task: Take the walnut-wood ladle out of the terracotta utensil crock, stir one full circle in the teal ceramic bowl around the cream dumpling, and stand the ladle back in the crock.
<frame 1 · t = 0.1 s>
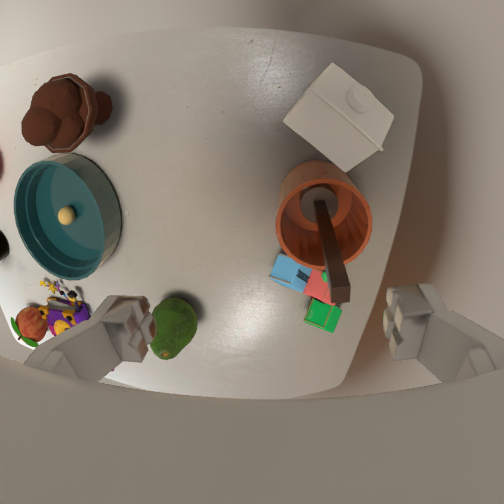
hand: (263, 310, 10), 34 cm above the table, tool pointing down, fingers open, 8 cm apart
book: (79, 324, 61), on the table
ladle: (317, 198, 42), point 1 cm above the table, touching crock
crock: (317, 197, 43), on the table
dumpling: (66, 215, 46), point 2 cm above the table, touching bowl
ice cream bowl: (98, 108, 40), on the table
building blocks: (307, 282, 49), on the table
fruit: (40, 314, 63), on the table
avocado: (182, 305, 54), on the table
milk carton: (322, 113, 37), on the table
bowl: (73, 211, 48), on the table
battery: (1, 242, 54), on the table
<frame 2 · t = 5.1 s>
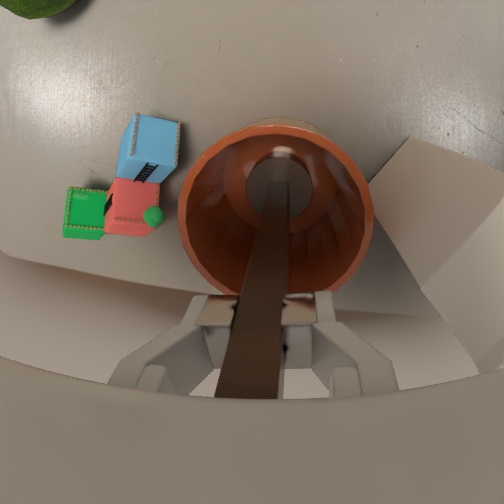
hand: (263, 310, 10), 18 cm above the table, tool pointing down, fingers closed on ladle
ladle: (280, 180, 25), point 1 cm above the table, touching crock, gripper
crock: (280, 178, 26), on the table
building blocks: (130, 174, 28), on the table
milk carton: (409, 189, 25), on the table
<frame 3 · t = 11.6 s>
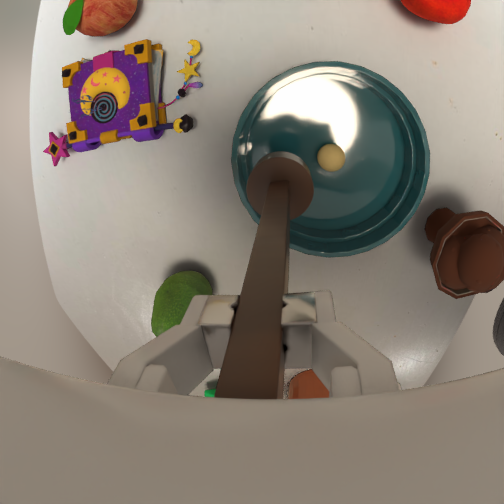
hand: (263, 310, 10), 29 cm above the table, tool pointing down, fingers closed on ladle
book: (117, 99, 35), on the table
apple: (417, 0, 24), on the table
ladle: (281, 180, 25), point 12 cm above the table, touching gripper
crock: (316, 386, 53), on the table
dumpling: (331, 157, 33), point 2 cm above the table, touching bowl
ice cream bowl: (441, 225, 37), on the table
fruit: (120, 11, 29), on the table
avocado: (194, 282, 46), on the table
bowl: (328, 154, 35), on the table
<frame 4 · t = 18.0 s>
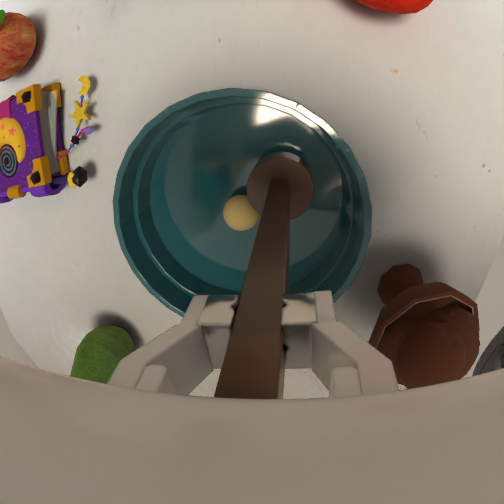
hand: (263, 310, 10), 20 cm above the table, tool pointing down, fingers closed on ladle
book: (27, 145, 29), on the table
ladle: (281, 180, 25), point 3 cm above the table, touching gripper
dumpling: (241, 212, 27), point 2 cm above the table, touching bowl
ice cream bowl: (400, 284, 31), on the table
fruit: (27, 46, 23), on the table
avocado: (121, 334, 40), on the table
bowl: (244, 204, 29), on the table
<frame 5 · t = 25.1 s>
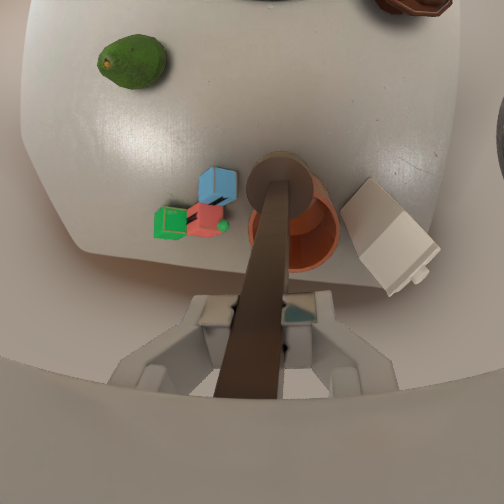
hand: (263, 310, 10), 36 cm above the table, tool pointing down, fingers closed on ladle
ladle: (281, 180, 25), point 19 cm above the table, touching gripper
crock: (293, 203, 45), on the table
building blocks: (199, 198, 47), on the table
avocado: (152, 65, 38), on the table
milk carton: (370, 208, 44), on the table
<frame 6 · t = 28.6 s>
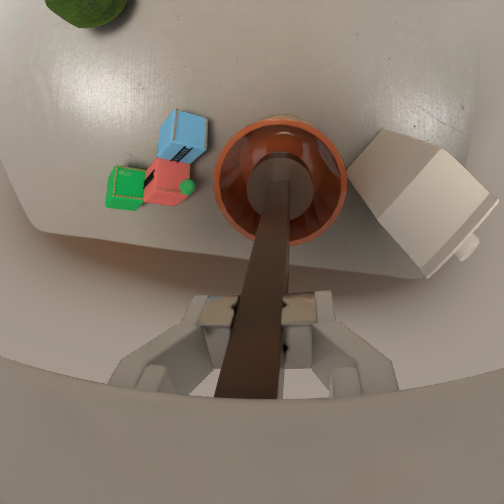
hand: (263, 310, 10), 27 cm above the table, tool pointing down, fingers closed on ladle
ladle: (281, 180, 25), point 9 cm above the table, touching gripper
crock: (283, 161, 34), on the table
building blocks: (163, 158, 35), on the table
avocado: (115, 6, 26), on the table
milk carton: (384, 170, 33), on the table
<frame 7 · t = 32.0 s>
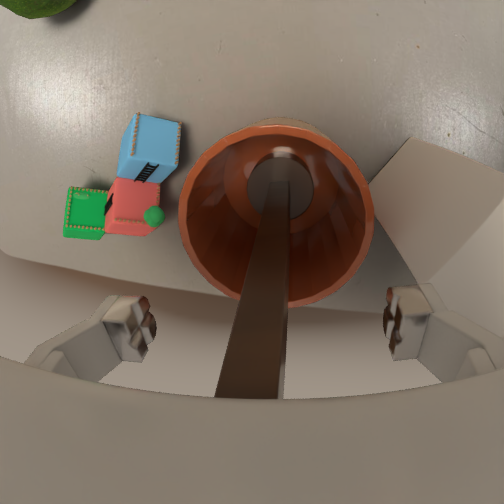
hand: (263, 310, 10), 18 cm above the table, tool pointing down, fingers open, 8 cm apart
ladle: (281, 180, 25), point 1 cm above the table, touching crock
crock: (281, 178, 26), on the table
building blocks: (131, 174, 28), on the table
milk carton: (410, 190, 25), on the table
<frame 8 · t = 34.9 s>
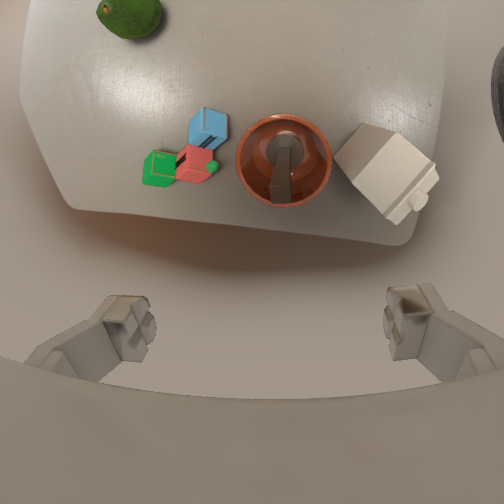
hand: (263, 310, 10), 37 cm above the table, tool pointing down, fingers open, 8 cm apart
ladle: (285, 149, 42), point 1 cm above the table, touching crock
crock: (285, 148, 43), on the table
building blocks: (190, 146, 44), on the table
avocado: (148, 21, 35), on the table
milk carton: (365, 155, 42), on the table
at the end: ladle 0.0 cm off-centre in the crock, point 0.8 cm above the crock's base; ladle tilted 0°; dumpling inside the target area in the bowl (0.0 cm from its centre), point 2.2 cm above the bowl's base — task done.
